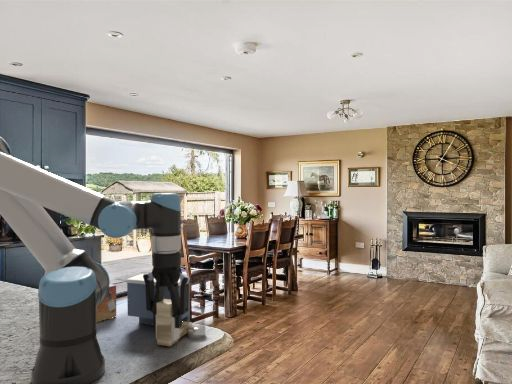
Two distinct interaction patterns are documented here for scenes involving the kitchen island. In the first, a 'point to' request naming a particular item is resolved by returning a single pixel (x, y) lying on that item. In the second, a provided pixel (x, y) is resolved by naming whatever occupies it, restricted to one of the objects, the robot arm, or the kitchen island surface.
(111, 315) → the small box
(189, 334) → the steel token
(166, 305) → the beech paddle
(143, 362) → the kitchen island surface
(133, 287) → the navy cabinet
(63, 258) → the robot arm
